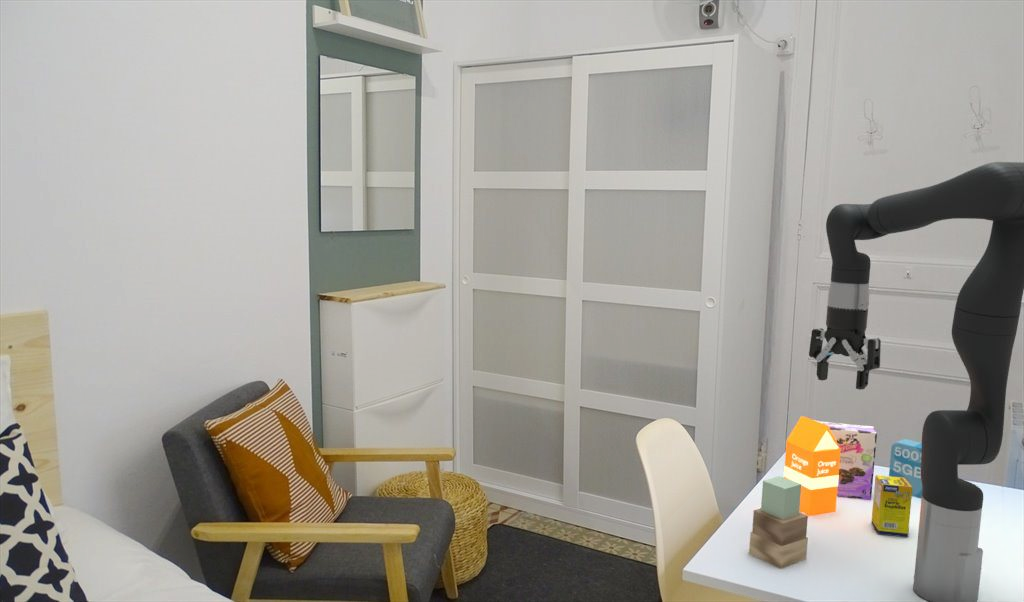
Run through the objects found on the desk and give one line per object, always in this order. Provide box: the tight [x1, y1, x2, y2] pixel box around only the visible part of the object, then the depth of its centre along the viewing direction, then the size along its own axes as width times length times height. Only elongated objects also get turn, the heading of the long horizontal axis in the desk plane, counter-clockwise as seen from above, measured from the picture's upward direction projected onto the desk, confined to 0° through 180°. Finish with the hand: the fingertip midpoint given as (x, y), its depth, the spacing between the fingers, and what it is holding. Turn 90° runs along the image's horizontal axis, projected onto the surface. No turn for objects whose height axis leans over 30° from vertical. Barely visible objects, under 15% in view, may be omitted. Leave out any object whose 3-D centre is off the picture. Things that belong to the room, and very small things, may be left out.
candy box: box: [813, 419, 878, 501], centre depth 186 cm, size 14×6×16 cm, turn 73°
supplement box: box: [871, 474, 913, 538], centre depth 165 cm, size 6×6×11 cm
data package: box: [888, 438, 922, 499], centre depth 187 cm, size 12×4×12 cm, turn 40°
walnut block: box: [751, 507, 809, 546], centre depth 151 cm, size 7×7×4 cm
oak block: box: [748, 531, 808, 569], centre depth 152 cm, size 8×8×4 cm
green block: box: [760, 476, 801, 519], centre depth 151 cm, size 5×5×6 cm
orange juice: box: [783, 415, 841, 517], centre depth 177 cm, size 8×9×20 cm
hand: (841, 384), depth 159 cm, fingers open, 8 cm apart
